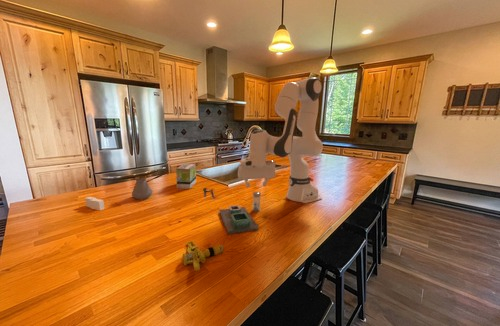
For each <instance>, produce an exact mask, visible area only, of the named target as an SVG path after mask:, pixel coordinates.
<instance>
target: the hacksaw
mask: <svg viewBox="0 0 500 326" xmlns="http://www.w3.org/2000/svg"><path fill="white" fill-rule="evenodd" d="M214 191H215V189H214V188H211V189H210V190H208V188H207V187H204V188H203V194H204V198H206V197H207V193H209V192H210V193H211V196H212V198H210V199H209V200H210V201H211V200H212V199H213V200H218V198H217V197H216V196H214Z"/></svg>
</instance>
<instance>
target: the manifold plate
mask: <svg viewBox="0 0 500 326" xmlns="http://www.w3.org/2000/svg"><path fill="white" fill-rule="evenodd" d="M218 211H219V212H218V213H219V215H220V218H221V220H222V222H223V226H224V227H225V231H226V233H227V235H229V236H230V235H234V234H239V233H241V234H242V233H246V232H253V231H259V225H258V224H257V222H256V221H255V220H254V218H253V217H252V216H251V215H252V214H250V213H249V212H248V210H247V208H246V207H245V206H240V205H238V204H237V205H230V206H228V208H224V209H219V210H218Z"/></svg>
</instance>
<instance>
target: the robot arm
mask: <svg viewBox="0 0 500 326" xmlns="http://www.w3.org/2000/svg"><path fill="white" fill-rule="evenodd" d="M322 90H323V84H322V81H321V80H320V78H318V77H310V78H305V79H301V80H297V81H295V82H294V81H288V82H286V83H285V84H284V85H283V87H282V88H281V90H280V92H279V94H278V95H277V98H276V101H275V104H274V111H275V113H276V114H277V116H279V117H280V118H282V119H284V121H285V122H284V126H283V132H282V135H281V136H273V135H272V134H269V133H268V132H267V130H265V129H255V130H253V131H251V133H250V136H249V137H250V138H249V156H248V157H245V158H242V159H240V161H239V163H240V165H239V166H238V169H237V178H239V180H240V181H241V180H243V182H245V188H251V184H250V183H248V181H249V180H259V179H260V180H262V179H264V181H263V182H262V186H263V187H267V183H268V182H269V179H274V178H275V177H276V162H275V161H274V160H267V154H269V155H273V156H275V157H276V156H277V157H279V158H285V157H288V159H289V164H290V174H289V178H288V179H289V180H288V184H289V186H288V190H287V193H286V195H285V196H286V198H287V199H288V200H289V201H293V202H299V203H303V204H308V203H311V202H316V201H320V200H322V199H323V197H322V196H321V194H319V190H318V188H317V187H316V186H315V185H314V184H313V183H312V182H314V180H315V179H314V178H313V177H309V171H310V165H309V163H308V162H307V161H306V160H305V159H304V156H305V157H317V156H319V155H321V153H322V152H323V149H324V145H323V142H322V140H321V139H320V138H319V137H318V135H317V132H316V127H317V126H316V124H317V120H318V119H317V118H318V114H319V104H320V103H319V102H320V101H319V98H320V95H321V93H322ZM298 101H300V107H299V111H298V113H297V110H296V106H297V104H298ZM296 127H297V129H298V130H299V131H300V132H301V133H302V136H297V135H296V136H295V135H294V134H295V131H296Z"/></svg>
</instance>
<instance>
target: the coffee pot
mask: <svg viewBox="0 0 500 326" xmlns="http://www.w3.org/2000/svg"><path fill="white" fill-rule="evenodd" d="M165 175H167V176H169V173H168V172H167V171H166V172H164V173H162V174H159V175H156V176H154V177H152V178H150V179H148V180H147V176H145V175H140V176H136V177H135V178H134V179H135V184H134V187H133V188H132V192H131V196H132V198H135V199H136V200H141V201H142V200H146V199H148V198H150V197H151V196H152V194H153V190H152V188H151V186H150V184H149V182H151V181H153V180H156V179H158V178H161V177H162V176H165Z"/></svg>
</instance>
